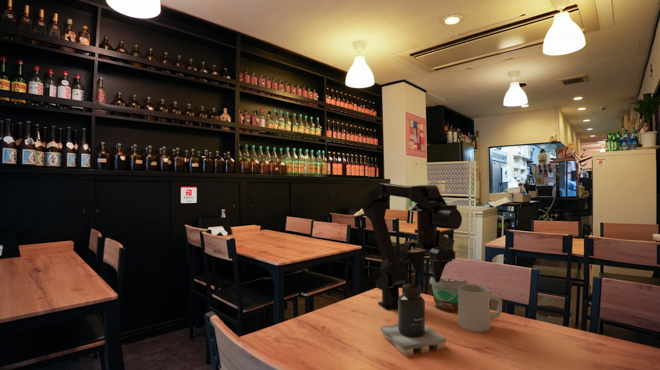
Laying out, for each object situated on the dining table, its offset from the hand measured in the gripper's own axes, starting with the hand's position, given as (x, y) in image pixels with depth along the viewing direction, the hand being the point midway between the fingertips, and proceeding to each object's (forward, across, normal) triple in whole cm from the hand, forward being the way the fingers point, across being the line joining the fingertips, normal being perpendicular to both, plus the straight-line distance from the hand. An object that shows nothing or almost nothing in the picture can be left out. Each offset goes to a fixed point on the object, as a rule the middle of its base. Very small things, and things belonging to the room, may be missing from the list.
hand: (427, 278), depth 101 cm
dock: (+13, -10, +12) cm, 20 cm away
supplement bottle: (+11, -10, +12) cm, 19 cm away
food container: (+13, +6, -12) cm, 19 cm away
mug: (+13, -8, -12) cm, 20 cm away
